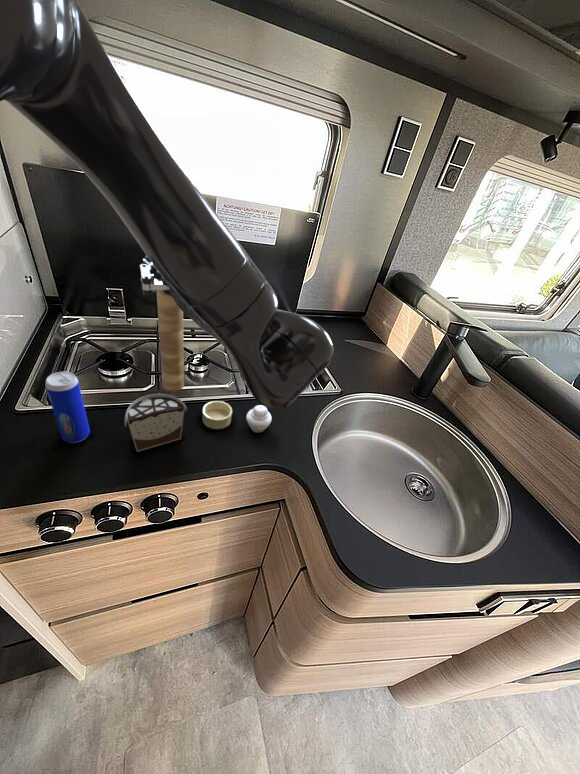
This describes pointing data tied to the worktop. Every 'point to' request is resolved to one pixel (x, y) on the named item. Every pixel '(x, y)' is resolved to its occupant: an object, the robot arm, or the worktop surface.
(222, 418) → the socket
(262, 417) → the white lidded jar
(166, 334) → the post
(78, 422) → the beverage can
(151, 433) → the iced muffin
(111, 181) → the robot arm
